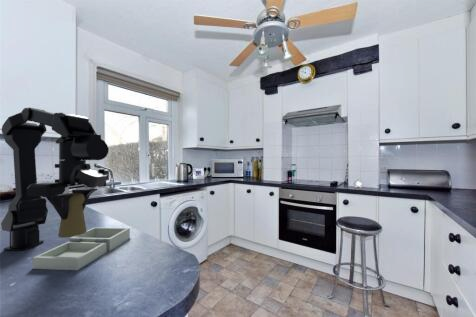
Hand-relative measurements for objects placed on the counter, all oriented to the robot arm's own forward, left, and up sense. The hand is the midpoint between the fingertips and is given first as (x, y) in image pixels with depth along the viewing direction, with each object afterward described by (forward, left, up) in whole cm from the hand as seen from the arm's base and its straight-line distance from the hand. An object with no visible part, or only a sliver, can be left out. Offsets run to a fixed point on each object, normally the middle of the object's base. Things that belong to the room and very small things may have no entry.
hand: (72, 216), depth 56 cm
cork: (0, 0, -5) cm, 5 cm away
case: (0, +11, -12) cm, 16 cm away
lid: (0, 0, -12) cm, 12 cm away
